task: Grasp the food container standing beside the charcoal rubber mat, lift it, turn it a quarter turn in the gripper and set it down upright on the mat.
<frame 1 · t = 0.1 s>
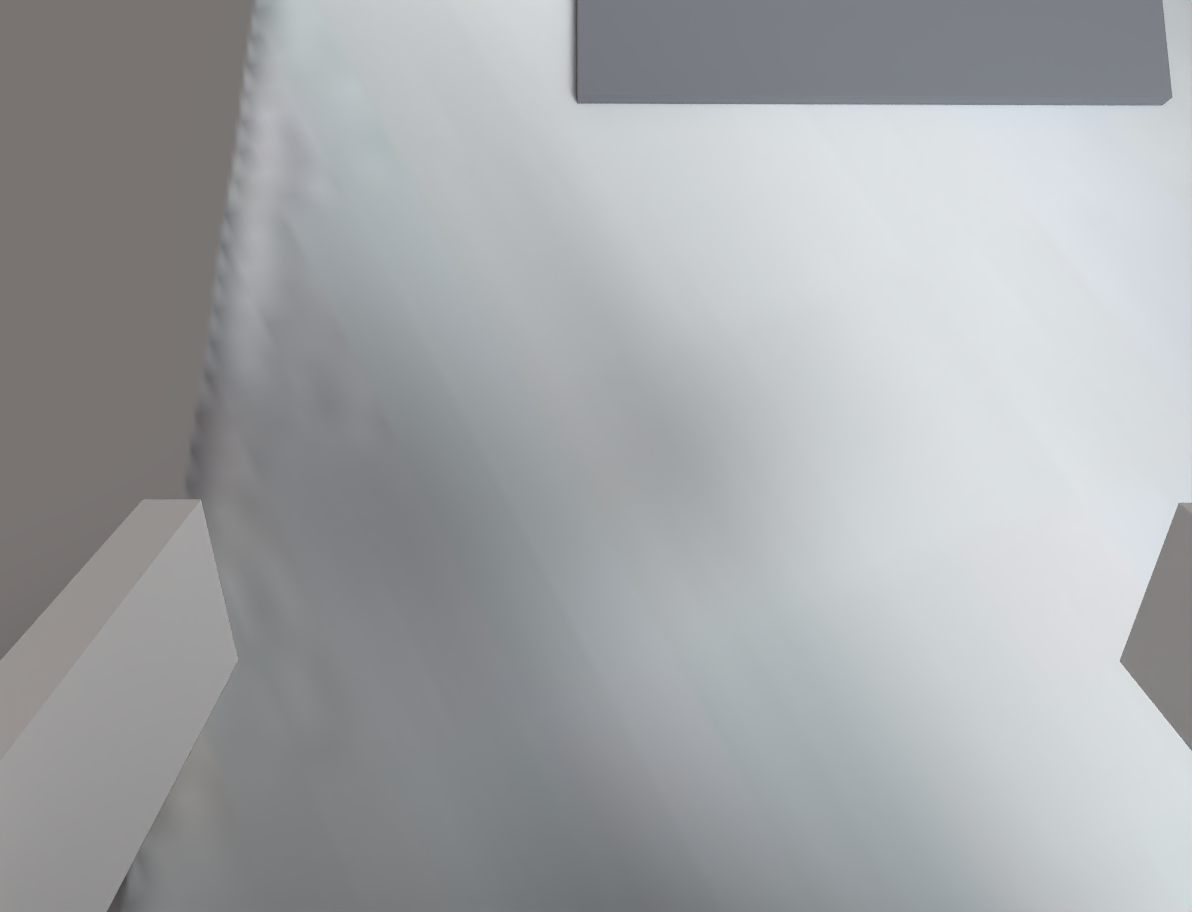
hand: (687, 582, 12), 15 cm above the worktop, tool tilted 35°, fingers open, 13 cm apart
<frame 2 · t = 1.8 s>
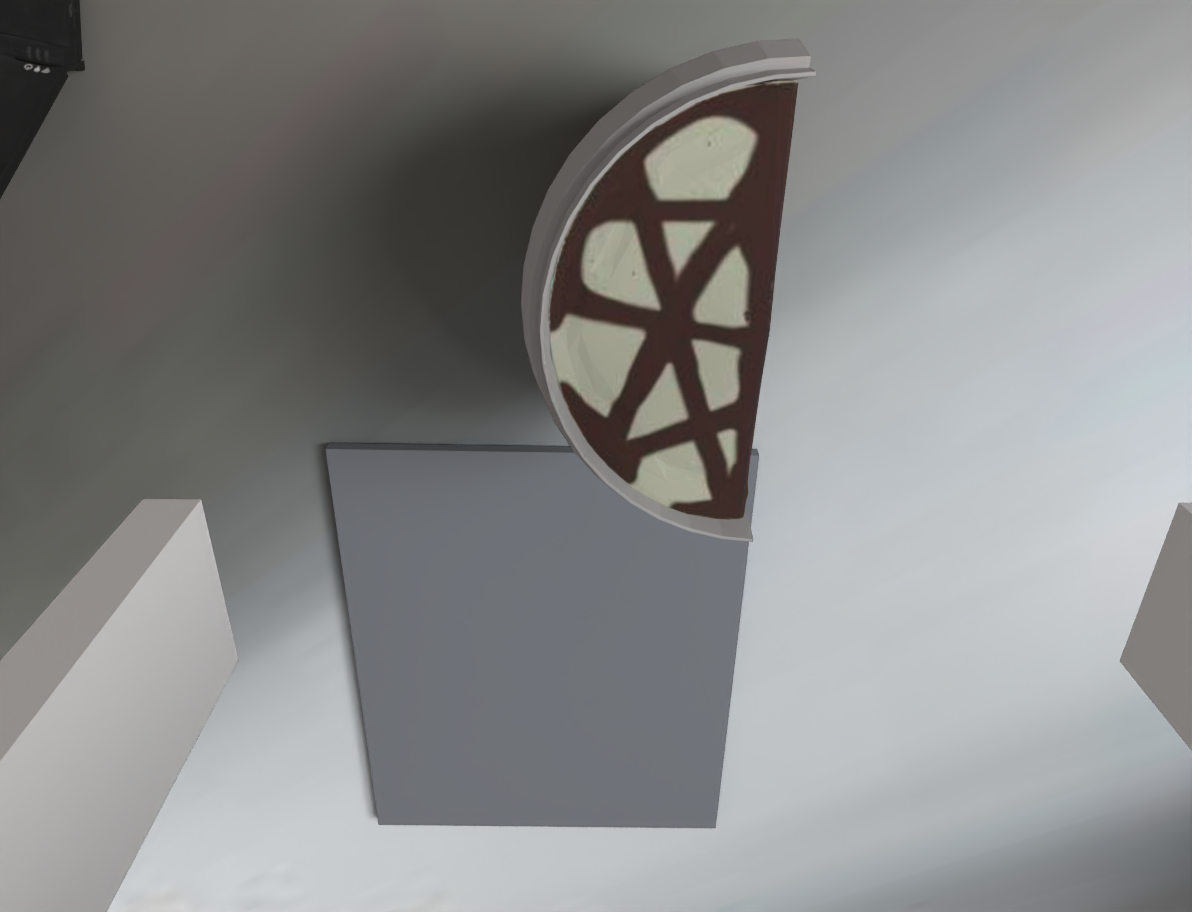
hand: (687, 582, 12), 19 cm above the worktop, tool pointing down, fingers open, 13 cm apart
food container: (631, 230, 29), on the worktop
mat: (545, 654, 37), on the worktop
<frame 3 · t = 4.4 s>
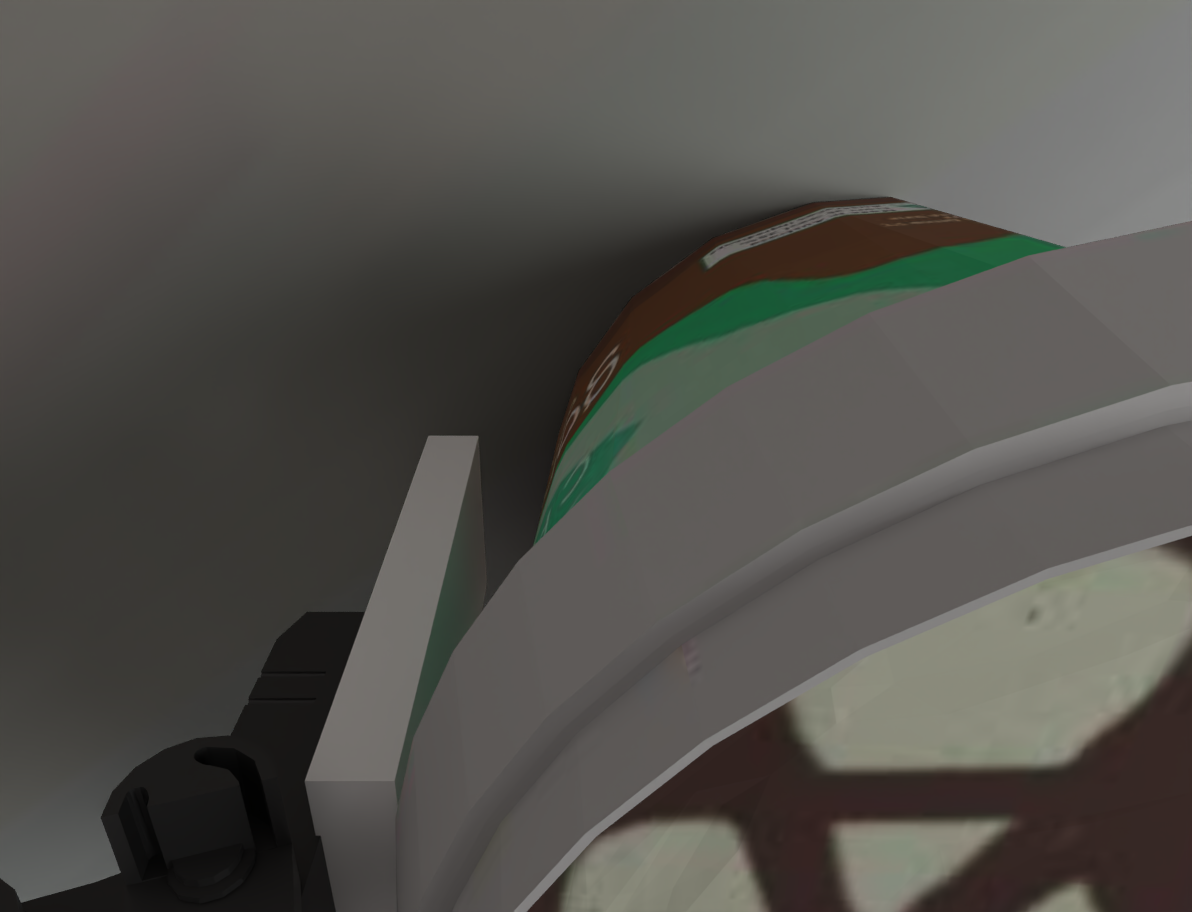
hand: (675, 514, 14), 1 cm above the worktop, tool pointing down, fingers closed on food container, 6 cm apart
food container: (664, 466, 15), on the worktop, touching gripper
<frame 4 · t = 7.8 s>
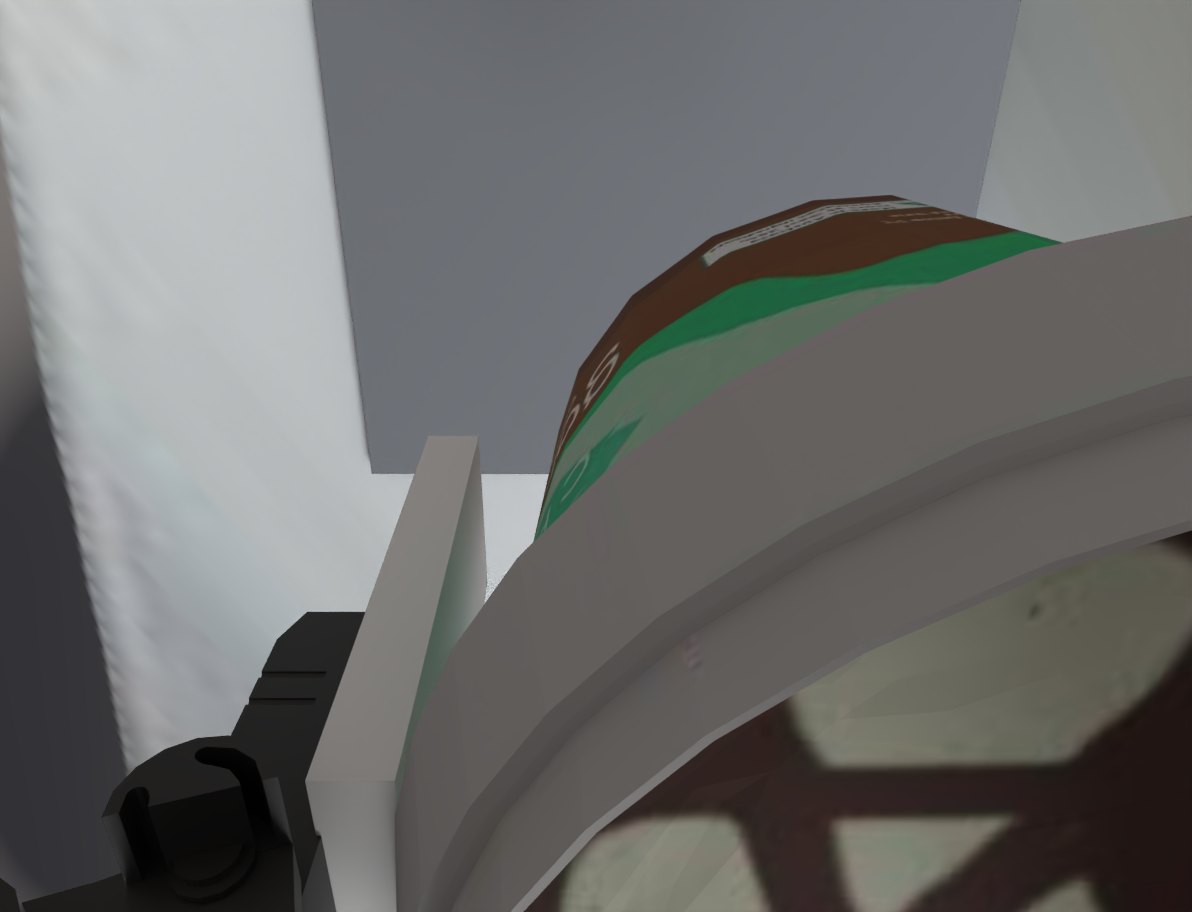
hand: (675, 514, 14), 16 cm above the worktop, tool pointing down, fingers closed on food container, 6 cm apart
food container: (664, 464, 15), point 15 cm above the worktop, touching gripper
mat: (656, 251, 28), on the worktop
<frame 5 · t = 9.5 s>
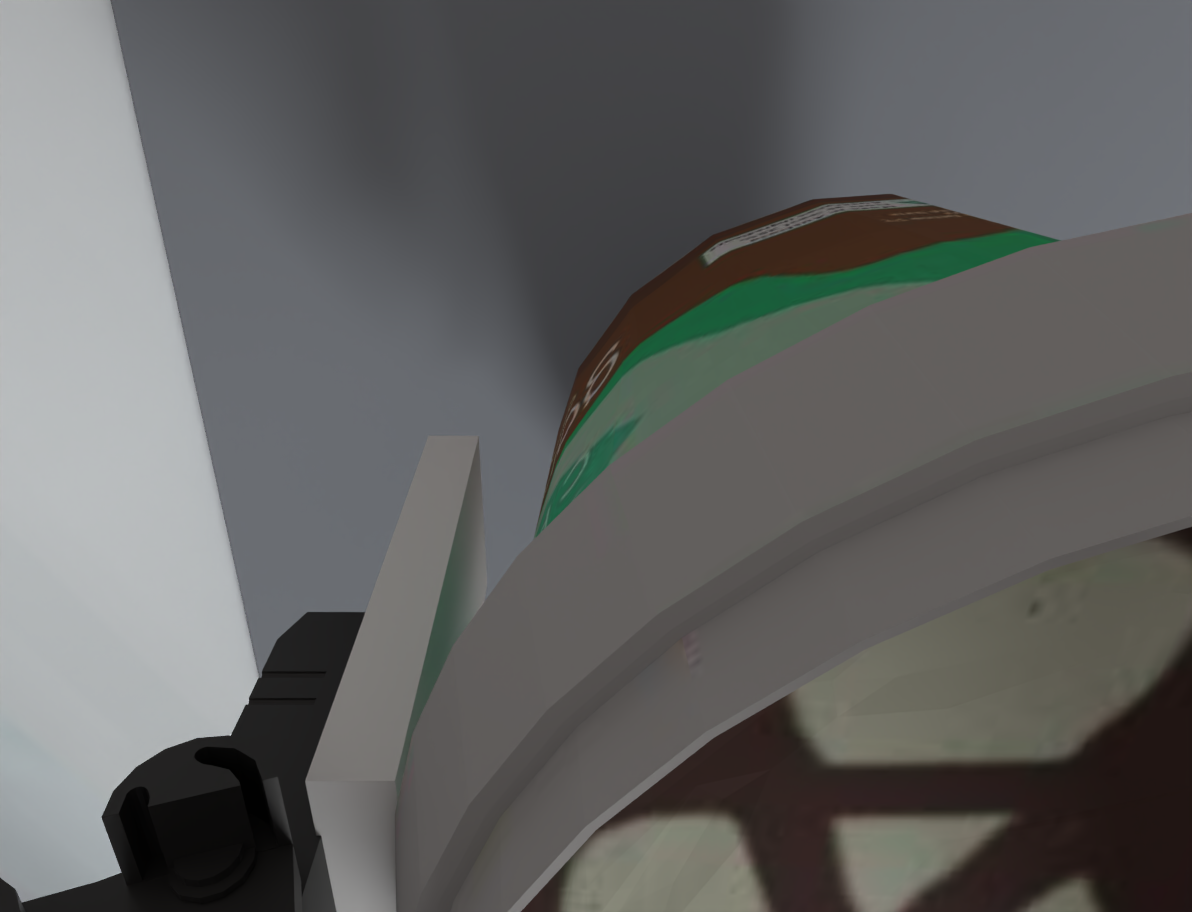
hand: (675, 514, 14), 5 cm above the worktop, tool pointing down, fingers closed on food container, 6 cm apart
food container: (664, 463, 15), point 3 cm above the worktop, touching gripper
mat: (703, 400, 18), on the worktop
when the fingers open (2 cm above the worktop, at t = 11.2 s): food container stays where it is, resting on mat.
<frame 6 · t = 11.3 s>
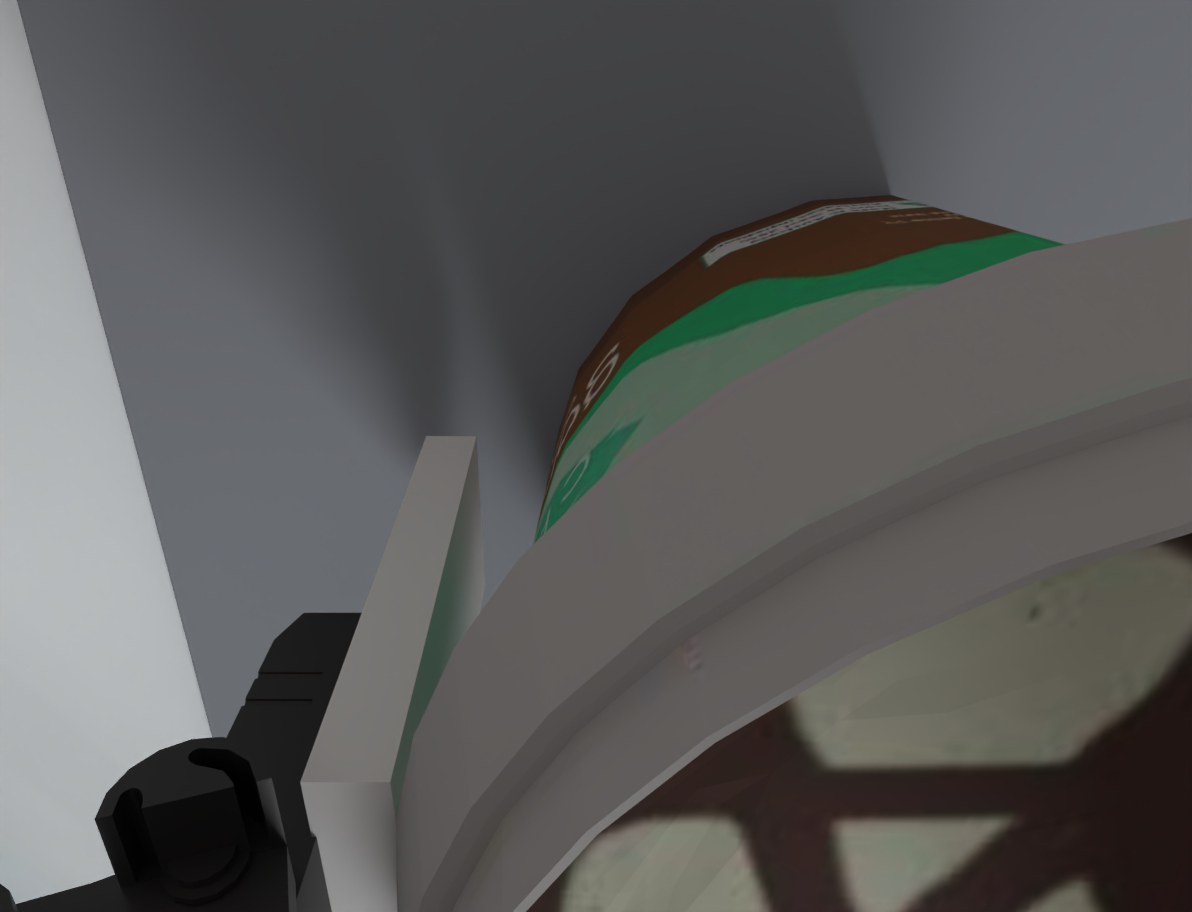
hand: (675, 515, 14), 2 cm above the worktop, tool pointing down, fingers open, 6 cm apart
food container: (664, 464, 15), resting on mat
mat: (722, 456, 15), on the worktop
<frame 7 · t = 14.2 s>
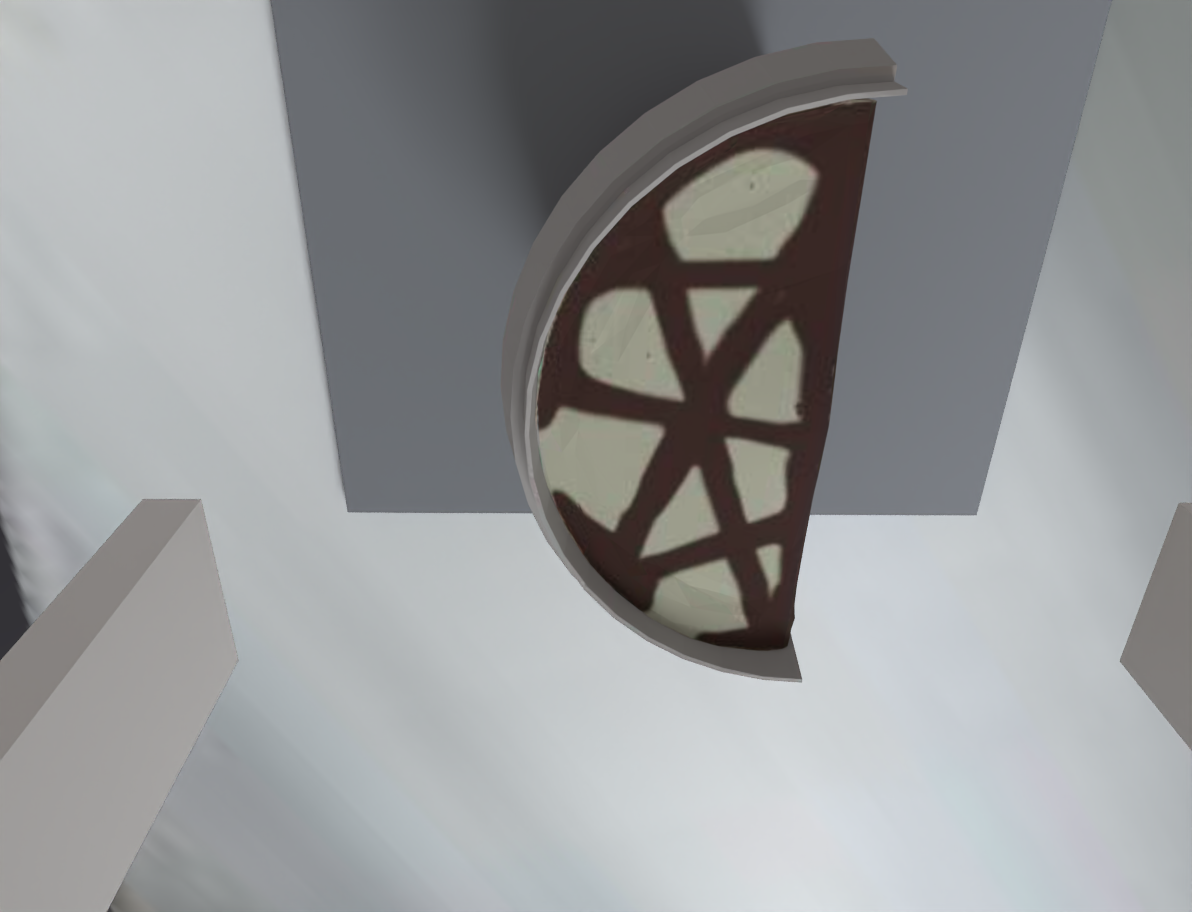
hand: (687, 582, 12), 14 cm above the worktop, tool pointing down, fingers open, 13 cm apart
food container: (638, 264, 24), resting on mat
mat: (675, 261, 24), on the worktop
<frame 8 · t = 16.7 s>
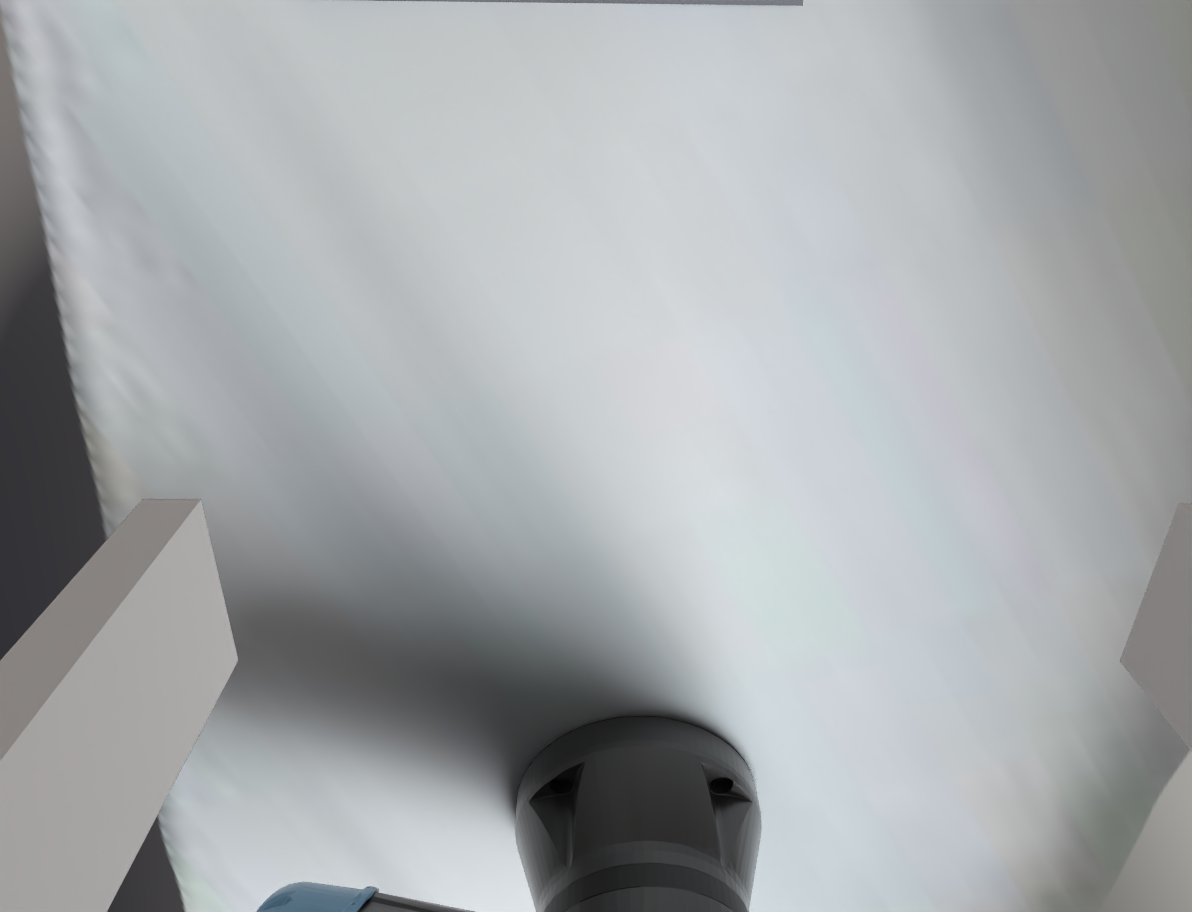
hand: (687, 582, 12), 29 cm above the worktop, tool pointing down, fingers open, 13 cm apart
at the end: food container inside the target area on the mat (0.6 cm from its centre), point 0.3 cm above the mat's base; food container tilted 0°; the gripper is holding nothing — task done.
